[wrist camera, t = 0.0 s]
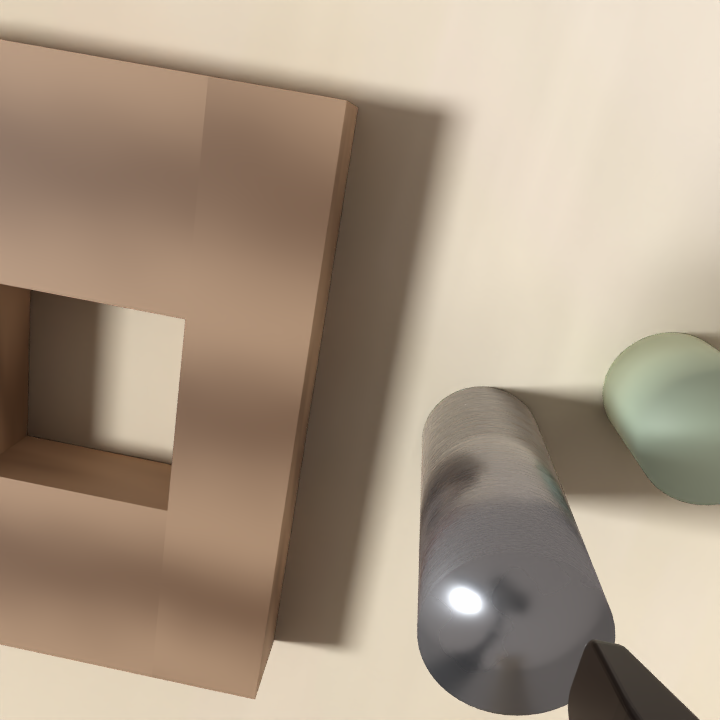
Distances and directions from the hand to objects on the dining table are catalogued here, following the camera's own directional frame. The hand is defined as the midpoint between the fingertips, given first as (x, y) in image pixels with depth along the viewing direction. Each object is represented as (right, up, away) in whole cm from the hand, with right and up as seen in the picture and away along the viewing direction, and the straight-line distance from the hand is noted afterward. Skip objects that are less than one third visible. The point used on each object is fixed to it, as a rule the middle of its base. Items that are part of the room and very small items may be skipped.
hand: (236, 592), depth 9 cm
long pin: (+6, 0, +15) cm, 16 cm away
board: (-7, +3, +15) cm, 17 cm away
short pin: (+12, +2, +14) cm, 18 cm away
